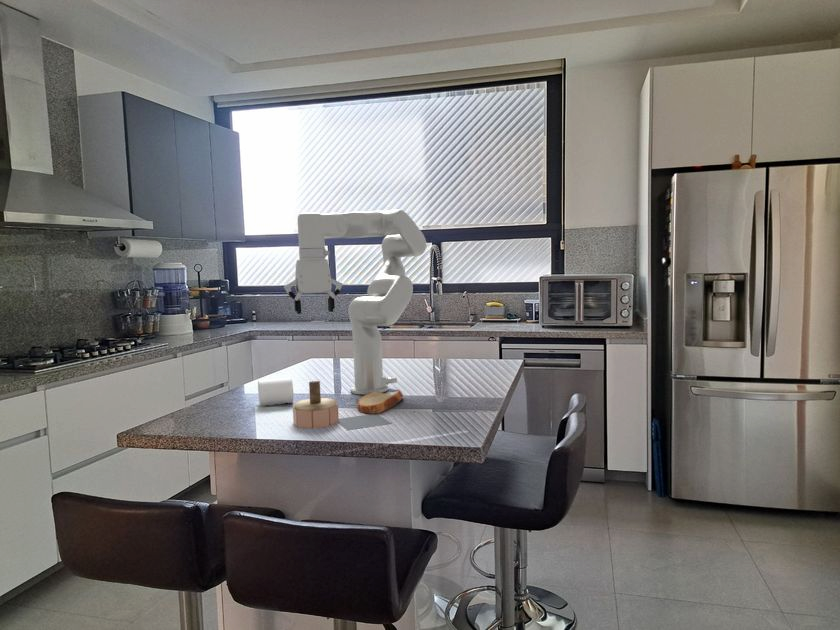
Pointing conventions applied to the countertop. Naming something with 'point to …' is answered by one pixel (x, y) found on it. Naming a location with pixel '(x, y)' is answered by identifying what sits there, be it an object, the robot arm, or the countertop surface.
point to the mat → (363, 421)
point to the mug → (275, 391)
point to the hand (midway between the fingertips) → (315, 312)
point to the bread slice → (378, 402)
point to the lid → (315, 400)
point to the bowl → (315, 417)
